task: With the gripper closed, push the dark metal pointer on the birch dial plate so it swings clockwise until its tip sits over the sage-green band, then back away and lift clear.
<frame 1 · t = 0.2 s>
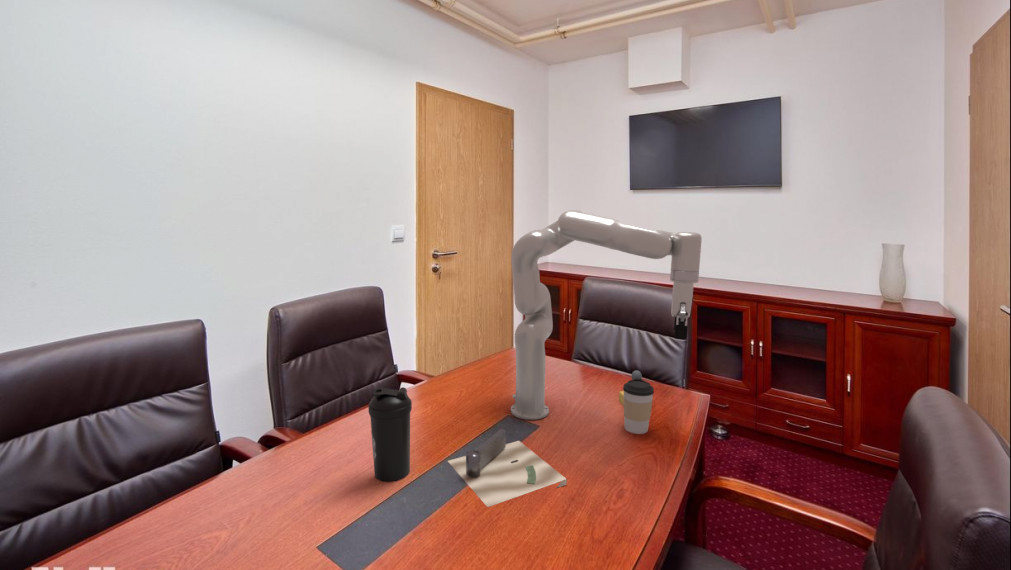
hand: (680, 334, 136), 31 cm above the table, tool pointing down, fingers open, 9 cm apart
pointer lever: (487, 451, 122), point 4 cm above the table, hinge at 0.0°
dial plate: (505, 475, 119), on the table
coffee cup: (636, 429, 145), on the table
water bottle: (392, 478, 118), on the table
rubber stamp: (635, 404, 164), on the table
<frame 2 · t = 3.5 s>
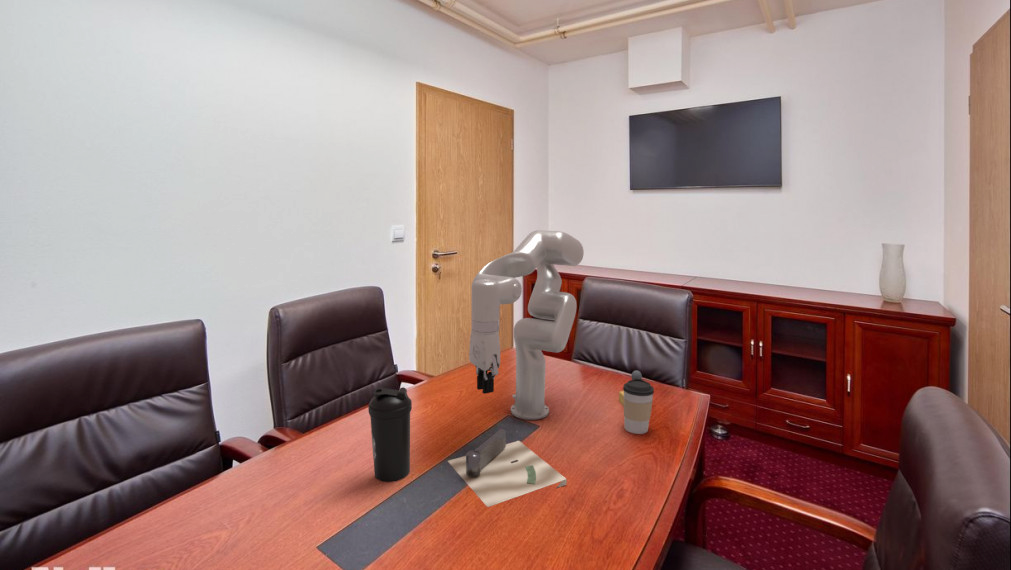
hand: (485, 390, 130), 17 cm above the table, tool pointing down, fingers closed
nothing on the table moved.
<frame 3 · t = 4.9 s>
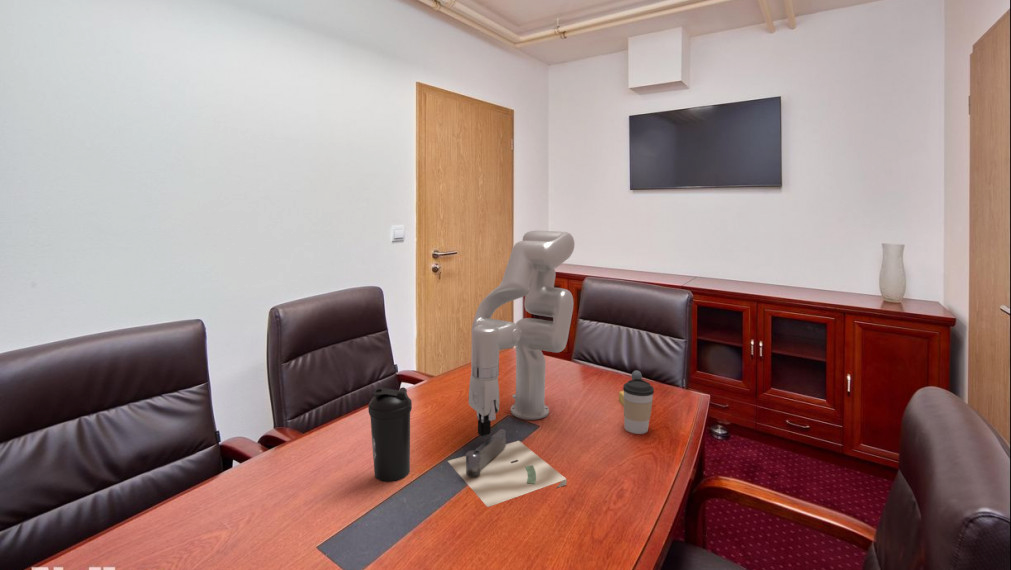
hand: (484, 433, 131), 4 cm above the table, tool pointing down, fingers closed
nothing on the table moved.
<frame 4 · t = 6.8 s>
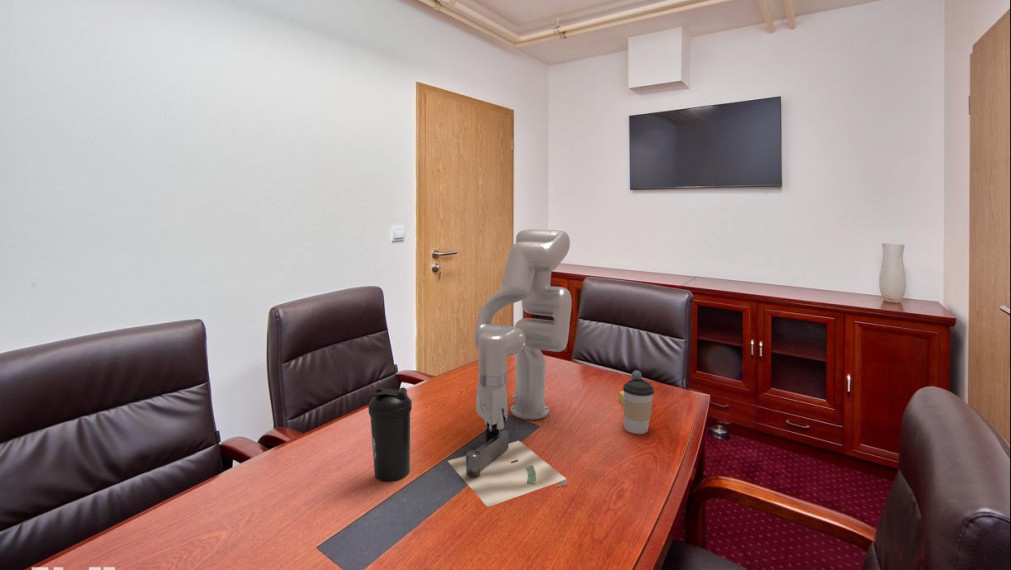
hand: (492, 442, 129), 4 cm above the table, tool pointing down, fingers closed
pointer lever: (488, 452, 122), point 4 cm above the table, hinge at -3.5°, touching gripper
everything else where it was.
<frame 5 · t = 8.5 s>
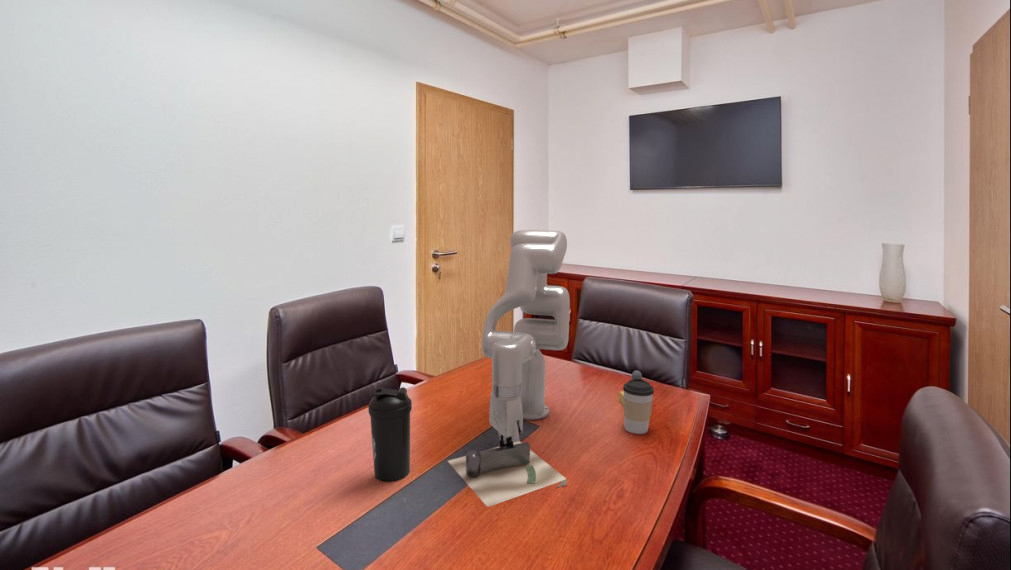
hand: (506, 454, 123), 3 cm above the table, tool pointing down, fingers closed
pointer lever: (498, 458, 119), point 4 cm above the table, hinge at -38.9°, touching gripper
everything else where it was.
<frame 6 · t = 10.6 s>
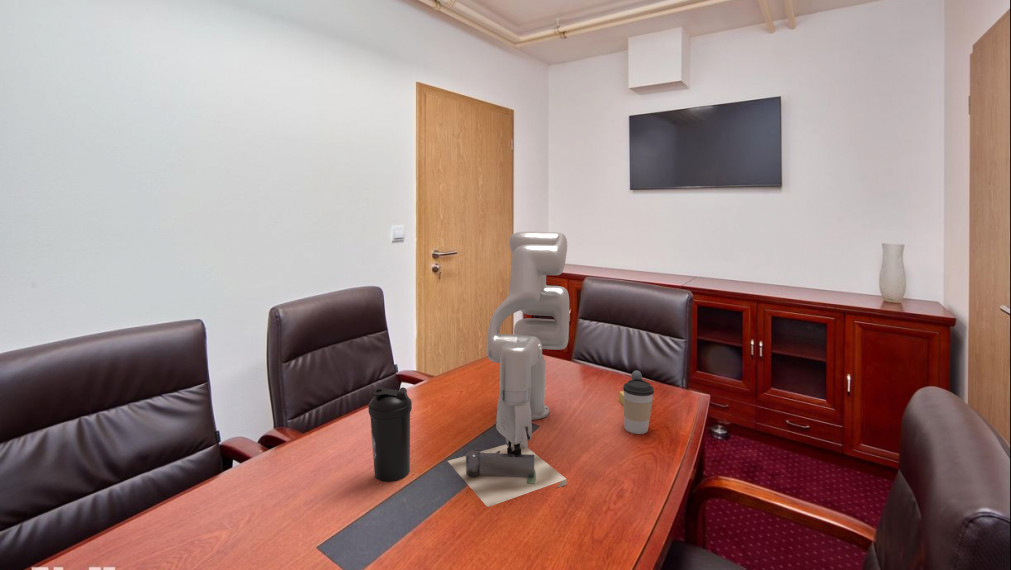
hand: (514, 461, 119), 3 cm above the table, tool pointing down, fingers closed
pointer lever: (499, 464, 116), point 4 cm above the table, hinge at -63.5°, touching gripper
everything else where it was.
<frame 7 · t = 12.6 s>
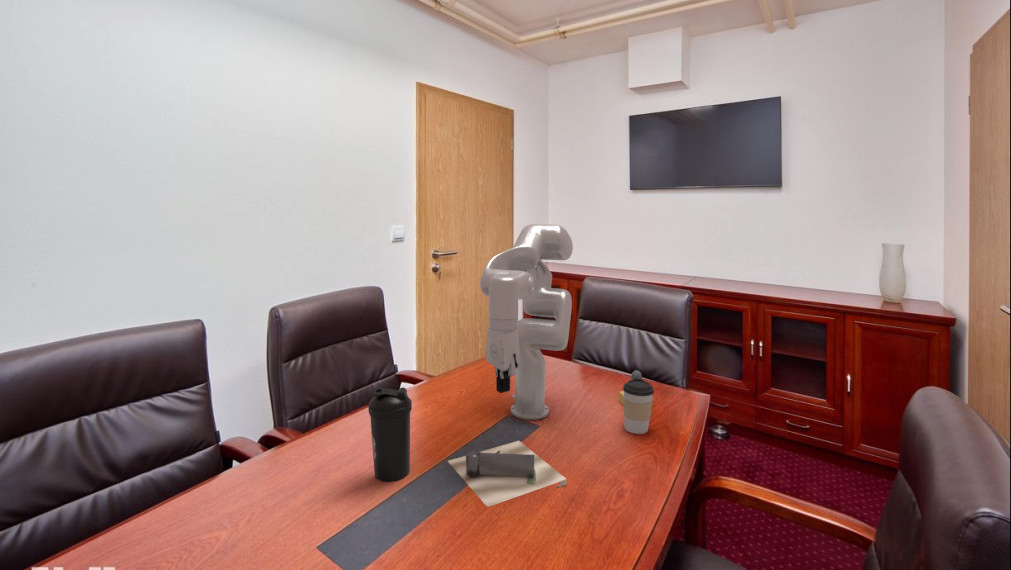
hand: (503, 390, 124), 19 cm above the table, tool pointing down, fingers closed
pointer lever: (499, 464, 116), point 4 cm above the table, hinge at -63.7°
everything else where it was.
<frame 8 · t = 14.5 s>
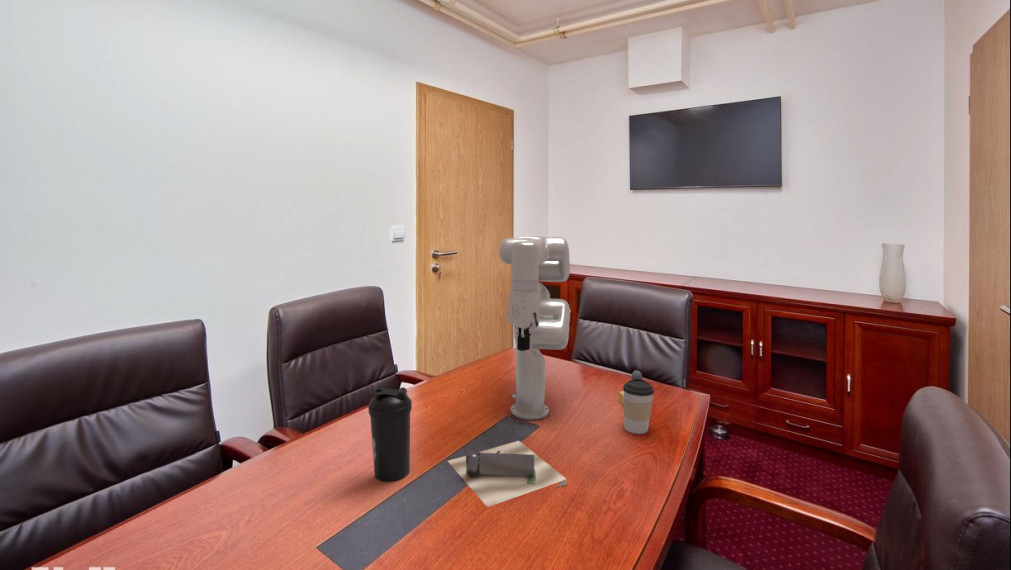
hand: (523, 349, 134), 27 cm above the table, tool pointing down, fingers closed
nothing on the table moved.
at the end: pointer lever at -64° (first picture: +0°); the gripper is holding nothing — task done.
